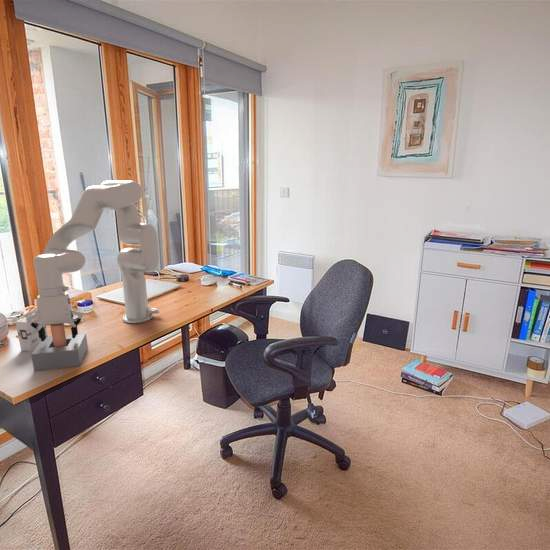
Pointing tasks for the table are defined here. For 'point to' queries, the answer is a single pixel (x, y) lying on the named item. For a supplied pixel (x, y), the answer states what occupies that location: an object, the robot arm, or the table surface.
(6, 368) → the table surface
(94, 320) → the table surface
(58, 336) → the peg
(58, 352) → the socket block
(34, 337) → the ink box
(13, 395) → the table surface
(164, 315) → the table surface
